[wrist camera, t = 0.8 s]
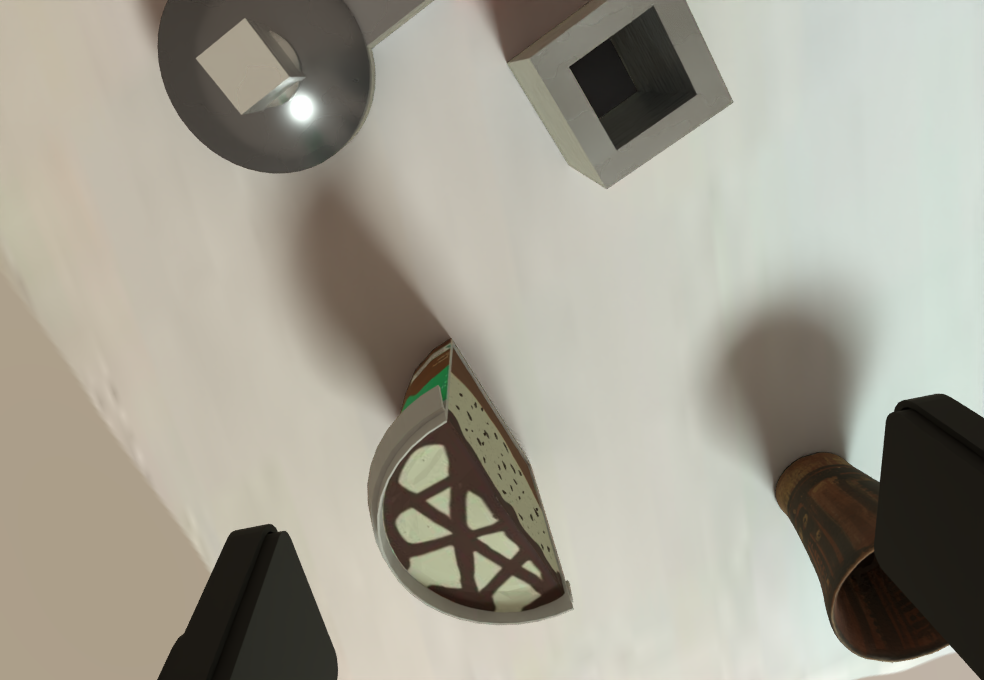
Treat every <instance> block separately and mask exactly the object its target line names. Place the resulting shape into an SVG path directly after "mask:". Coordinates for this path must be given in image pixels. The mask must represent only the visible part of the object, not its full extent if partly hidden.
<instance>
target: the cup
mask: <svg viewBox="0 0 984 680" xmlns="http://www.w3.org/2000/svg"><path fill="white" fill-rule="evenodd" d="M879 487H880V482H878V481H876V480H875V479H873V478H871V477H870V476H868V475H866V474H865V473H863V472H862V471H860V470H858V469H856V468H855V467H853V466H852V465H851V464H849V463H848V462H847V461H845V460H844V459H843V458H841V457H840V456H838V455H835V454H832V453H826V452H819V453H816V454H813V455H809V456H805V457H802V458H800V459H798V460H796V461H795V462H794V463H792V464H791V466H789V467H788V468H787V469H786V470H785V471H784V473H783V474H782V475H781V477H780V478H779V480H778V483H777V486H776V499H777V502H778V505H779V506H780V508H781V509H782V511H783V512H784V513H785V514H786V515H787V516H788V517H789V519H790V521H791V522H792V524H793V526H794V528H795V529H796V531H797V533H798V535H799V537H800V539H801V541H802V543H803V545H804V547H805V549H806V551H807V553H808V555H809V557H810V560H811V562H812V564H813V566H814V569H815V571H816V573H817V576H818V578H819V581H820V584H821V587H822V592H823V596H824V602H825V607H826V611H827V614H828V618H829V621H830V624H831V627H832V629H833V631H834V633H835V635H836V637H837V638H838V639H839V641H840V642H841V643H842V644H843V645H844V646H845V647H846V648H848V649H849V650H850V651H851V652H852V653H854V654H856V655H858V656H860V657H863V658H865V659H871V660H877V661H882V662H883V661H884V662H892V663H893V662H900V661H905V660H911V659H915V658H918V657H921V656H924V655H928V654H932V653H934V652H936V651H939V650H941V649H943V648H945V647H946V646H949V643H948V642H947V641H946V640H945V639H944V638H943V637H942V636H941V635H940V633H939V632H938V631H937V630H936V629H935V628H934V627H933V626H932V625H931V623H930V622H929V621H928V620H927V619H926V618H925V617H924V616H923V614H922V613H921V612H920V611H919V610H918V609H917V608H916V607H915V606H914V604H913V603H912V602H911V601H910V600H909V599H908V598H907V597H906V596H905V594H904V593H903V592H902V591H901V590H900V589H899V588H898V587H897V586H896V584H895V583H894V582H893V581H892V580H891V579H890V578H889V577H888V576H887V574H886V573H885V572H884V571H883V570H882V568H881V567H880V565H879V563H878V561H877V559H876V556H875V552H874V538H875V528H876V518H877V507H878V497H879Z"/></svg>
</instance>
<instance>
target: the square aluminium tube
mask: <svg viewBox="0 0 984 680" xmlns="http://www.w3.org/2000/svg"><path fill="white" fill-rule="evenodd" d="M608 38H610V40H611V42H612V43H613V45H614V47H615V49H616V51H617V53H618V55H619V57H620V59H621V60H622V62H623V64H624V66H625V68H626V70H627V72H628V74H629V76H630V77H631V79H632V81H633V83H634V85H635V87H636V89H637V92H636V93H634V94H633V95H632V96H630V97H629V98H627V99H626V100H624V101H623V102H622V103H620V104H619V105H617V106H616V107H615V108H613V109H612V110H610V111H609V112H607V113H606V114H605V115H603V116H602V117H600V118H599V119H598V117H597V115H596V114H595V112H594V110H593V108H592V107H591V105H590V103H589V101H588V100H587V98H586V96H585V94H584V93H583V91H582V89H581V87H580V85H579V84H578V82H577V80H576V78H575V77H574V75H573V73H572V71H571V70H570V68H569V67H570V66H571V65H572V64H574V63H575V62H576V61H578V60H579V59H581V58H582V57H583V56H585V55H586V54H587V53H589V52H590V51H592V50H593V49H594V48H596V47H597V46H598V45H600V44H601V43H603V42H604V41H605V40H607V39H608ZM507 64H508V66H509V68H510V69H511V71H512V73H513V74H514V76H515V78H516V79H517V81H518V82H519V84H520V86H521V87H522V89H523V91H524V92H525V94H526V96H527V97H528V99H529V101H530V102H531V104H532V106H533V107H534V109H535V110H536V112H537V114H538V115H539V117H540V119H541V120H542V122H543V124H544V125H545V127H546V129H547V130H548V132H549V134H550V135H551V137H552V139H553V140H554V142H555V143H556V145H557V147H558V148H559V150H560V152H561V153H562V155H563V157H564V158H565V160H566V162H567V163H568V165H569V166H571V167H572V168H574V169H575V170H577V171H579V172H580V173H582V174H583V175H585V176H586V177H588V178H590V179H591V180H593V181H594V182H596V183H598V184H599V185H601V186H602V187H604V188H605V189H608V188H609V187H611V186H612V185H614V184H615V183H617V182H618V181H619V180H621V179H622V178H624V177H625V176H627V175H628V174H630V173H631V172H633V171H634V170H636V169H637V168H638V167H640V166H641V165H643V164H644V163H646V162H647V161H649V160H650V159H652V158H653V157H655V156H656V155H657V154H659V153H660V152H662V151H663V150H665V149H666V148H668V147H669V146H671V145H672V144H674V143H675V142H676V141H678V140H679V139H681V138H682V137H684V136H685V135H687V134H688V133H690V132H691V131H693V130H694V129H695V128H697V127H698V126H700V125H701V124H703V123H704V122H706V121H707V120H709V119H710V118H712V117H713V116H714V115H716V114H717V113H719V112H720V111H722V110H723V109H725V108H726V107H728V106H729V105H731V104H732V103H733V100H732V98H731V96H730V94H729V92H728V89H727V87H726V85H725V83H724V81H723V79H722V77H721V75H720V72H719V70H718V68H717V66H716V64H715V62H714V60H713V58H712V55H711V53H710V51H709V49H708V47H707V45H706V43H705V41H704V38H703V36H702V34H701V32H700V30H699V28H698V26H697V23H696V21H695V19H694V17H693V15H692V13H691V11H690V9H689V6H688V4H687V2H686V0H591V1H590V2H589V3H587V4H586V5H585V6H583V7H582V8H581V9H579V10H578V11H576V12H575V13H574V14H572V15H571V16H570V17H568V18H567V19H566V20H564V21H563V22H562V23H560V24H559V25H558V26H556V27H555V28H554V29H552V30H551V31H550V32H548V33H547V34H545V35H544V36H543V37H541V38H540V39H539V40H537V41H536V42H535V43H533V44H532V45H531V46H529V47H528V48H527V49H525V50H524V51H523V52H521V53H520V54H519V55H517V56H516V57H514V58H513V59H512V60H510V61H509V62H508V63H507Z"/></svg>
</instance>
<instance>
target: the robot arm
mask: <svg viewBox="0 0 984 680" xmlns="http://www.w3.org/2000/svg"><path fill="white" fill-rule="evenodd" d="M874 552H875V556H876V559H877V561H878V563H879V565H880V567H881V568H882V570H883V571H884V572H885V573H886V574H887V576H888V577H889V578H890V579H891V580H892V581H893V582H894V583H895V584H896V586H897V587H898V588H899V589H900V590H901V591H902V592H903V593H904V594H905V596H906V597H907V598H908V599H909V600H910V601H911V602H912V603H913V604H914V606H915V607H916V608H917V609H918V610H919V611H920V612H921V613H922V614H923V616H924V617H925V618H926V619H927V620H928V621H929V622H930V623H931V625H932V626H933V627H934V628H935V629H936V630H937V631H938V632H939V633H940V635H941V636H942V637H943V638H944V639H945V640H946V641H947V642H948V643H949V645H950V646H951V647H952V648H953V649H954V650H955V651H956V652H957V653H958V654H959V656H960V657H961V658H962V659H963V660H964V661H965V662H966V663H967V664H968V666H969V667H970V668H971V669H972V670H973V671H974V672H975V673H976V675H977V676H978V677H979V678H980V679H981V680H984V418H983V417H981V416H980V415H978V414H977V413H975V412H973V411H972V410H970V409H969V408H967V407H966V406H964V405H962V404H961V403H959V402H958V401H956V400H954V399H953V398H951V397H949V396H947V395H945V394H933V395H928V396H923V397H918V398H913V399H908V400H903V401H901V402H899V403H898V404H897V405H896V407H895V410H894V412H892V413H890V414H889V415H888V417H887V419H886V426H885V436H884V446H883V456H882V466H881V477H880V487H879V497H878V507H877V518H876V528H875V538H874ZM337 676H338V664H337V656H336V653H335V649H334V647H333V644H332V642H331V639H330V637H329V634H328V632H327V629H326V627H325V624H324V622H323V619H322V616H321V614H320V611H319V609H318V606H317V604H316V601H315V599H314V596H313V594H312V591H311V588H310V586H309V583H308V581H307V578H306V576H305V573H304V571H303V568H302V566H301V563H300V561H299V558H298V555H297V553H296V550H295V548H294V545H293V543H292V540H291V538H290V536H289V534H288V533H287V532H286V531H281V532H278V531H277V529H276V528H275V527H274V526H273V525H272V524H266V525H261V526H256V527H251V528H246V529H240V530H235V531H233V532H232V533H231V534H230V535H229V537H228V538H227V540H226V543H225V545H224V547H223V549H222V551H221V554H220V556H219V558H218V560H217V562H216V565H215V567H214V569H213V571H212V573H211V576H210V578H209V580H208V582H207V584H206V587H205V589H204V591H203V593H202V595H201V598H200V600H199V602H198V604H197V606H196V609H195V611H194V613H193V615H192V617H191V620H190V622H189V624H188V626H187V628H186V631H185V633H184V634H183V635H182V636H180V637H179V638H178V640H177V641H176V643H175V644H174V646H173V647H172V649H171V652H170V654H169V656H168V658H167V660H166V662H165V664H164V666H163V669H162V671H161V673H160V675H159V677H158V679H157V680H337Z"/></svg>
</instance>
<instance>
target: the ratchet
mask: <svg viewBox="0 0 984 680" xmlns="http://www.w3.org/2000/svg"><path fill="white" fill-rule="evenodd" d="M433 1H434V0H168V1H167V3H166V6H165V9H164V11H163V14H162V17H161V22H160V27H159V32H158V58H159V66H160V71H161V76H162V79H163V82H164V86H165V89H166V92H167V94H168V96H169V98H170V100H171V102H172V105H173V106H174V108H175V110H176V111H177V113H178V115H179V116H180V118H181V119H182V121H183V122H184V123H185V125H186V126H187V127H188V129H189V130H190V131H191V132H192V133H193V134H194V135H195V136H196V137H197V138H198V139H199V140H200V141H201V142H202V143H203V144H204V145H206V146H207V147H208V148H209V149H210V150H212V151H213V152H215V153H216V154H218V155H219V156H221V157H222V158H224V159H226V160H228V161H230V162H232V163H234V164H236V165H239V166H242V167H244V168H247V169H251V170H255V171H259V172H266V173H291V172H297V171H301V170H305V169H308V168H311V167H313V166H316V165H318V164H320V163H322V162H324V161H325V160H327V159H328V158H330V157H331V156H333V155H334V154H335V153H337V152H338V151H339V150H341V149H342V148H343V147H344V146H345V145H346V144H348V143H349V142H350V141H351V140H352V139H353V137H354V136H355V135H356V134H357V133H358V131H359V130H360V128H361V127H362V125H363V124H364V122H365V120H366V118H367V116H368V113H369V111H370V108H371V104H372V101H373V96H374V90H375V63H374V58H373V52H372V48H374V47H375V46H376V45H377V44H379V43H380V42H381V41H383V40H384V39H385V38H386V37H388V36H389V35H390V34H392V33H393V32H394V31H395V30H397V29H398V28H399V27H401V26H402V25H403V24H404V23H406V22H407V21H408V20H410V19H411V18H412V17H413V16H415V15H416V14H417V13H419V12H420V11H421V10H422V9H424V8H425V7H426V6H428V5H429V4H430V3H431V2H433Z"/></svg>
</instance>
